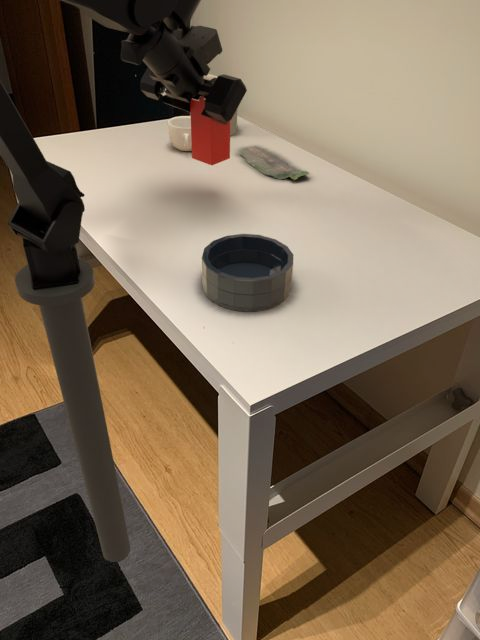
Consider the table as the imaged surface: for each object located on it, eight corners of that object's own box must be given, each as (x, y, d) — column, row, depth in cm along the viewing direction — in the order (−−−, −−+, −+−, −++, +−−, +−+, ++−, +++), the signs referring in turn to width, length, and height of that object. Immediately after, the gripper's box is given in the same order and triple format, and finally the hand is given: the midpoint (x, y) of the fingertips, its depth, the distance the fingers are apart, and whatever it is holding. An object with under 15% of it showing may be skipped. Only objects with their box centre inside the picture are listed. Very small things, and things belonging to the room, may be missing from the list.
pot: (216, 318, 74) (216, 286, 71) (193, 269, 83) (192, 239, 80) (303, 303, 77) (307, 273, 74) (272, 258, 86) (274, 229, 83)
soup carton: (211, 165, 96) (211, 85, 88) (191, 158, 98) (189, 78, 90) (230, 158, 99) (231, 79, 90) (210, 151, 101) (209, 74, 93)
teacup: (169, 140, 123) (167, 115, 119) (203, 141, 124) (203, 116, 120) (168, 158, 115) (167, 131, 112) (205, 158, 116) (205, 132, 113)
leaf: (230, 156, 121) (230, 151, 120) (260, 149, 124) (260, 144, 123) (281, 185, 107) (281, 180, 106) (313, 177, 110) (313, 172, 109)
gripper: (240, 18, 77) (281, 88, 91) (147, -2, 85) (198, 66, 99) (202, 89, 77) (249, 148, 91) (113, 63, 85) (169, 121, 99)
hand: (216, 118), depth 95 cm, fingers closed on soup carton, 5 cm apart
